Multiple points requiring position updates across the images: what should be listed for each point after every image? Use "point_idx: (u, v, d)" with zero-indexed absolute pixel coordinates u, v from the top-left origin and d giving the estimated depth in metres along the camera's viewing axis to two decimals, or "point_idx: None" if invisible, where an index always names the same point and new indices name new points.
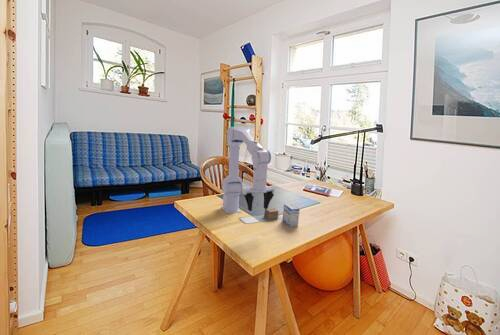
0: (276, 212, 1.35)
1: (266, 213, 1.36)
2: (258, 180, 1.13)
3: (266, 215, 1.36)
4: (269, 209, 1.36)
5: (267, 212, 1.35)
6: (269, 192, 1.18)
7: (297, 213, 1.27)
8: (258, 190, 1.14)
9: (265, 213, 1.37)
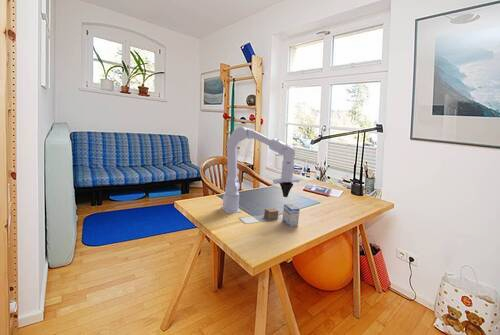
0: (276, 212, 1.35)
1: (266, 213, 1.36)
2: (286, 171, 1.34)
3: (266, 215, 1.36)
4: (269, 209, 1.36)
5: (267, 212, 1.35)
6: None
7: (297, 213, 1.27)
8: (286, 180, 1.34)
9: (265, 213, 1.37)
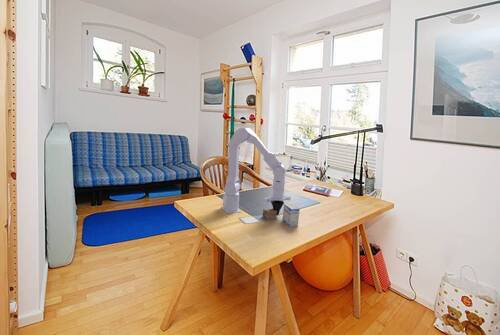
0: (274, 212, 1.35)
1: (265, 213, 1.35)
2: (277, 190, 1.33)
3: (264, 215, 1.36)
4: (267, 209, 1.36)
5: (266, 212, 1.35)
6: None
7: (297, 213, 1.27)
8: (277, 198, 1.34)
9: (263, 213, 1.36)
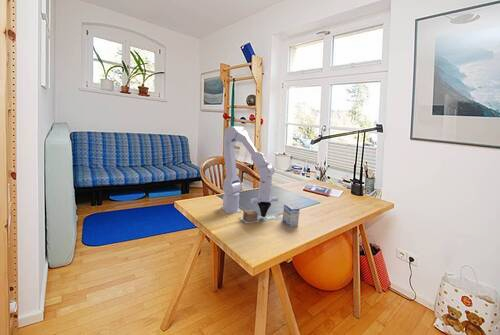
0: (255, 214, 1.30)
1: (245, 216, 1.31)
2: (264, 191, 1.30)
3: (245, 218, 1.31)
4: (248, 211, 1.31)
5: (246, 215, 1.30)
6: None
7: (297, 213, 1.27)
8: (264, 200, 1.30)
9: (244, 215, 1.32)
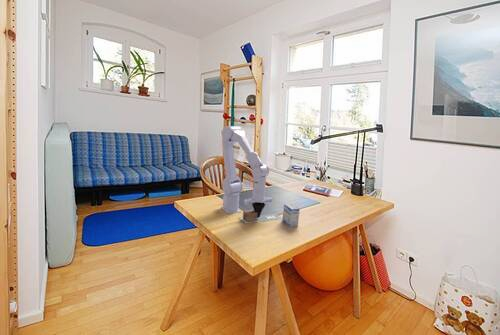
0: (255, 214, 1.30)
1: (245, 216, 1.31)
2: (258, 191, 1.28)
3: (245, 218, 1.31)
4: (248, 211, 1.31)
5: (246, 215, 1.30)
6: None
7: (297, 213, 1.27)
8: (258, 200, 1.29)
9: (244, 215, 1.32)
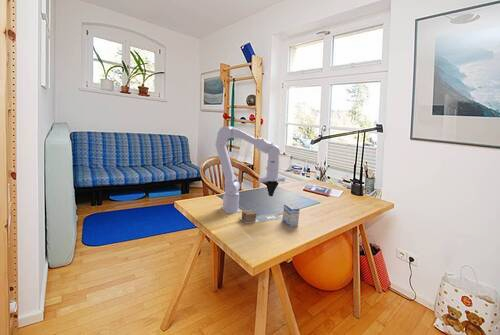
0: (254, 215, 1.30)
1: (244, 216, 1.30)
2: (271, 170, 1.34)
3: (243, 218, 1.31)
4: (246, 212, 1.31)
5: (244, 215, 1.29)
6: None
7: (297, 213, 1.27)
8: (271, 179, 1.34)
9: (242, 215, 1.31)
